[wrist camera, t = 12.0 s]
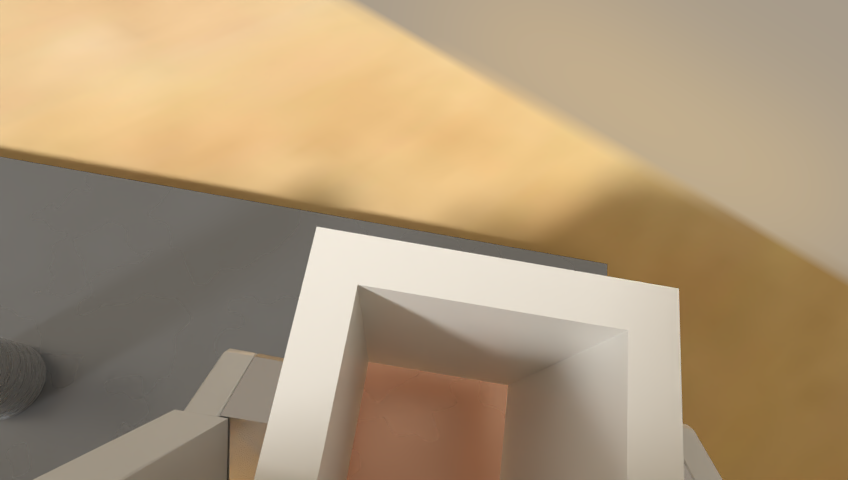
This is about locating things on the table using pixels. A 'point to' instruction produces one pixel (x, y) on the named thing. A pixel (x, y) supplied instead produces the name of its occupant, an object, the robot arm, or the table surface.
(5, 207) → the post plate
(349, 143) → the table surface
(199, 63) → the table surface
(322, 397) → the sleeve
